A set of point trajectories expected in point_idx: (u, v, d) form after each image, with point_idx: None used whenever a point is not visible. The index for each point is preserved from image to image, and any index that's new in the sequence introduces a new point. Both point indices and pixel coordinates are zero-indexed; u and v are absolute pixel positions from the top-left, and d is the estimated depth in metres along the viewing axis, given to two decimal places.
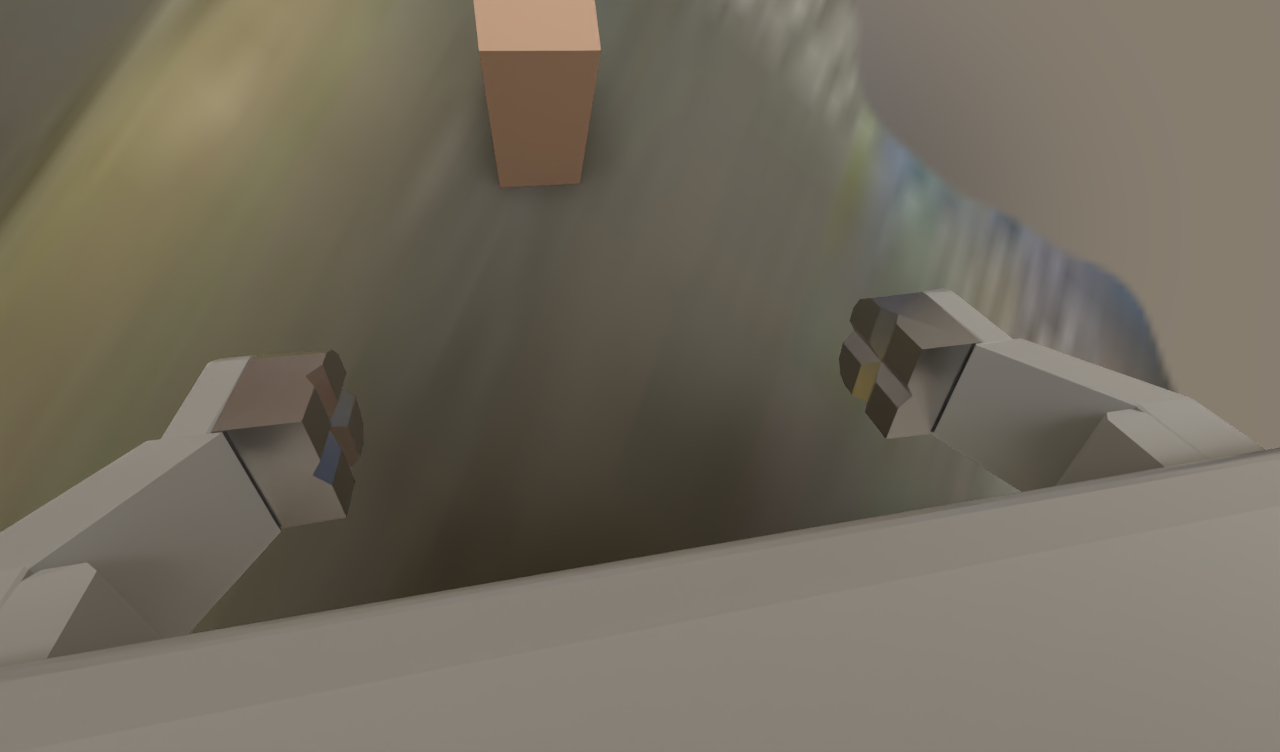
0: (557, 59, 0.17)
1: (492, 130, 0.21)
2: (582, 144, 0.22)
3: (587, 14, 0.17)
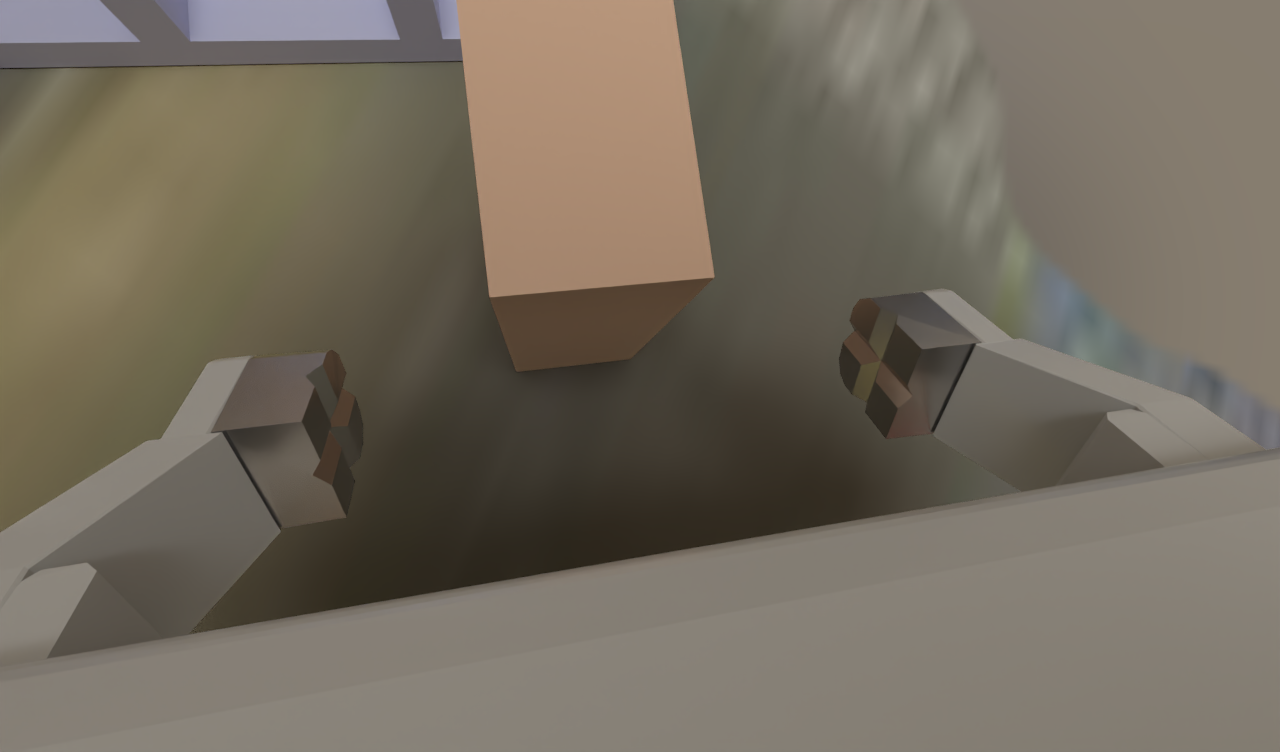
0: (633, 291, 0.09)
1: (508, 345, 0.13)
2: (645, 339, 0.15)
3: (688, 210, 0.09)
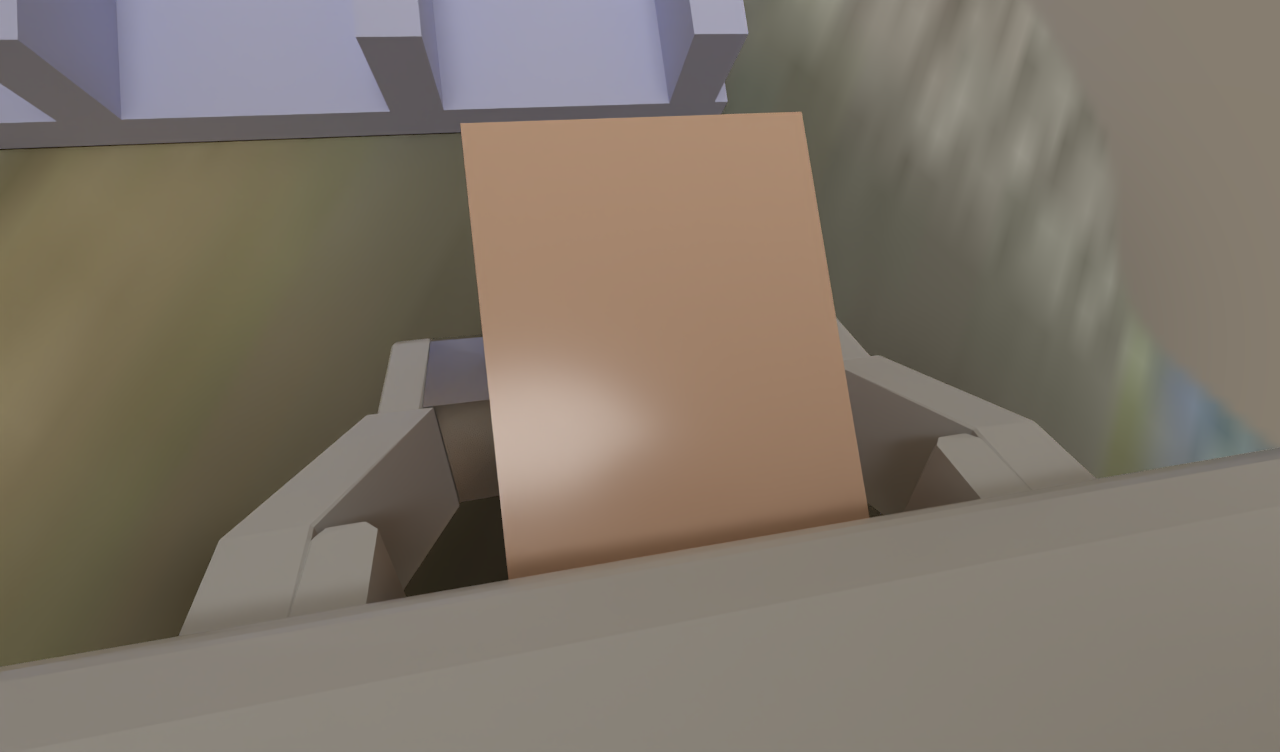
0: None
1: None
2: None
3: (837, 482, 0.06)
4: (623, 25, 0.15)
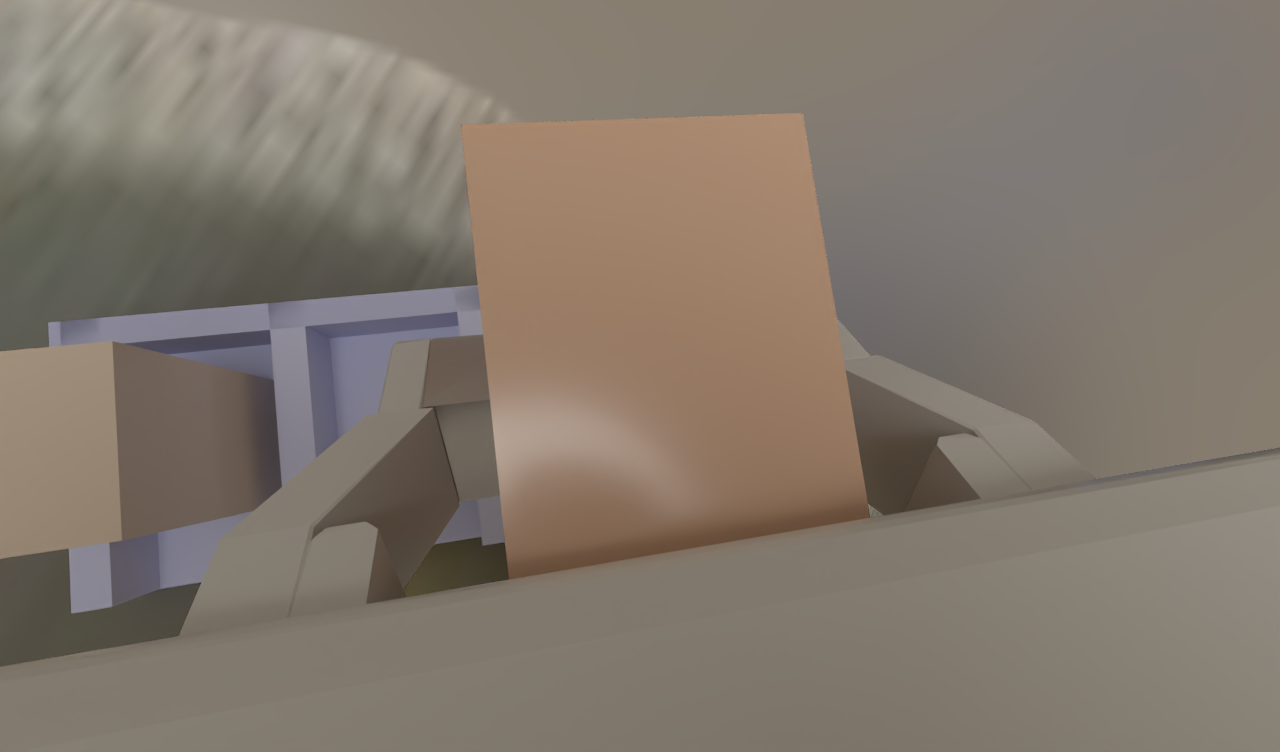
0: None
1: None
2: None
3: (838, 484, 0.06)
4: None
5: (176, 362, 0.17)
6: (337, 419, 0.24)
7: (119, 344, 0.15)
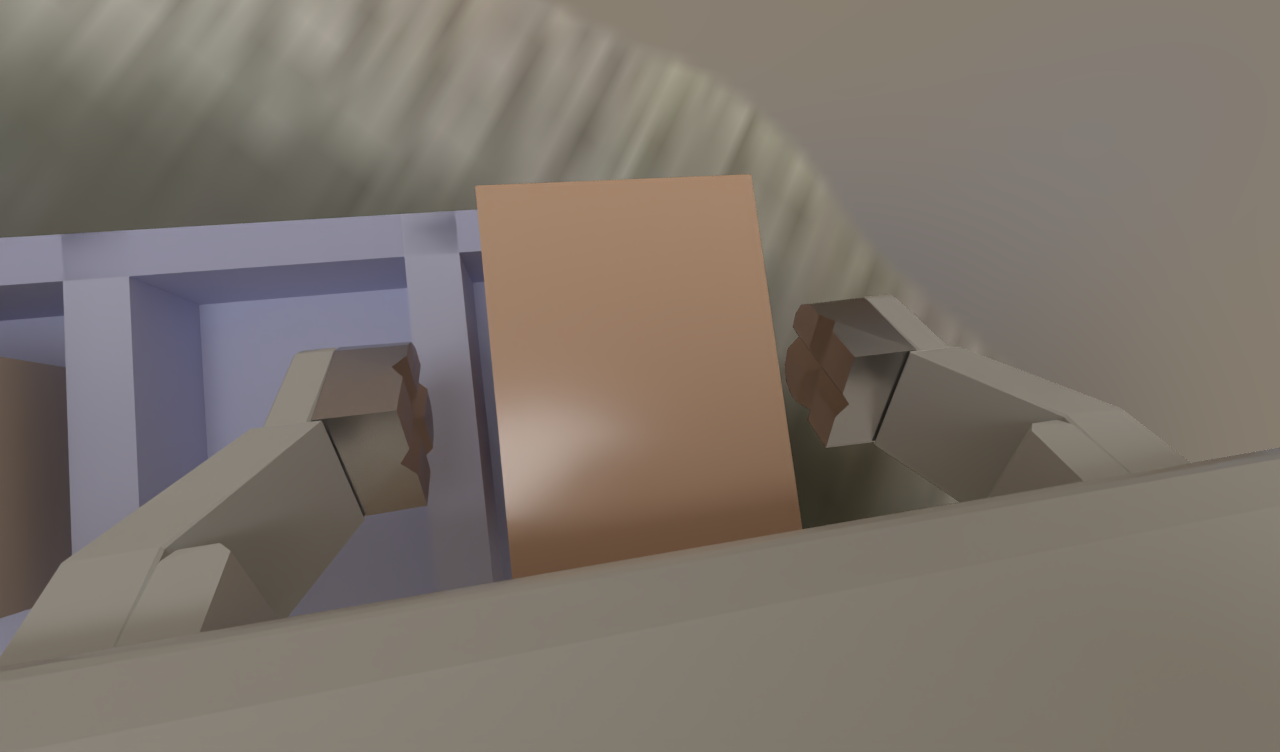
0: None
1: None
2: None
3: (773, 475, 0.07)
4: None
5: None
6: (207, 439, 0.14)
7: None
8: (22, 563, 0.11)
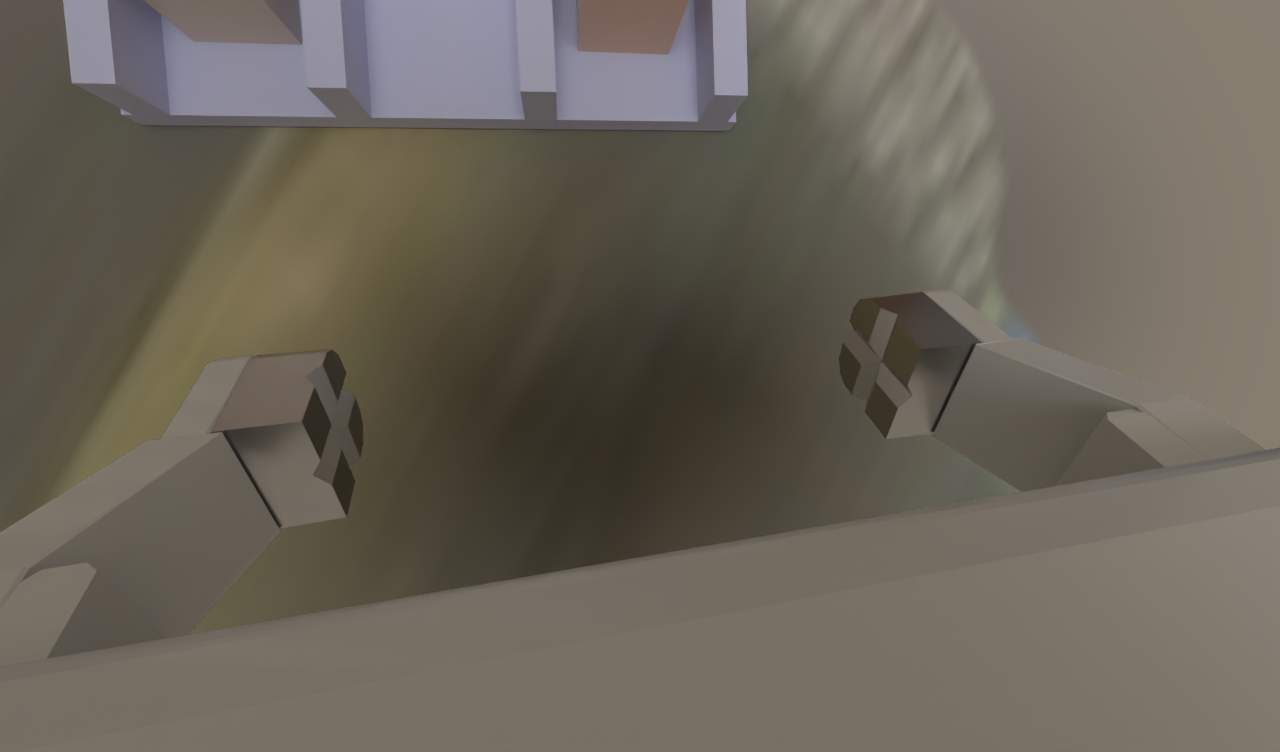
0: None
1: None
2: (683, 2, 0.19)
3: None
4: (673, 65, 0.22)
5: None
6: None
7: None
8: None
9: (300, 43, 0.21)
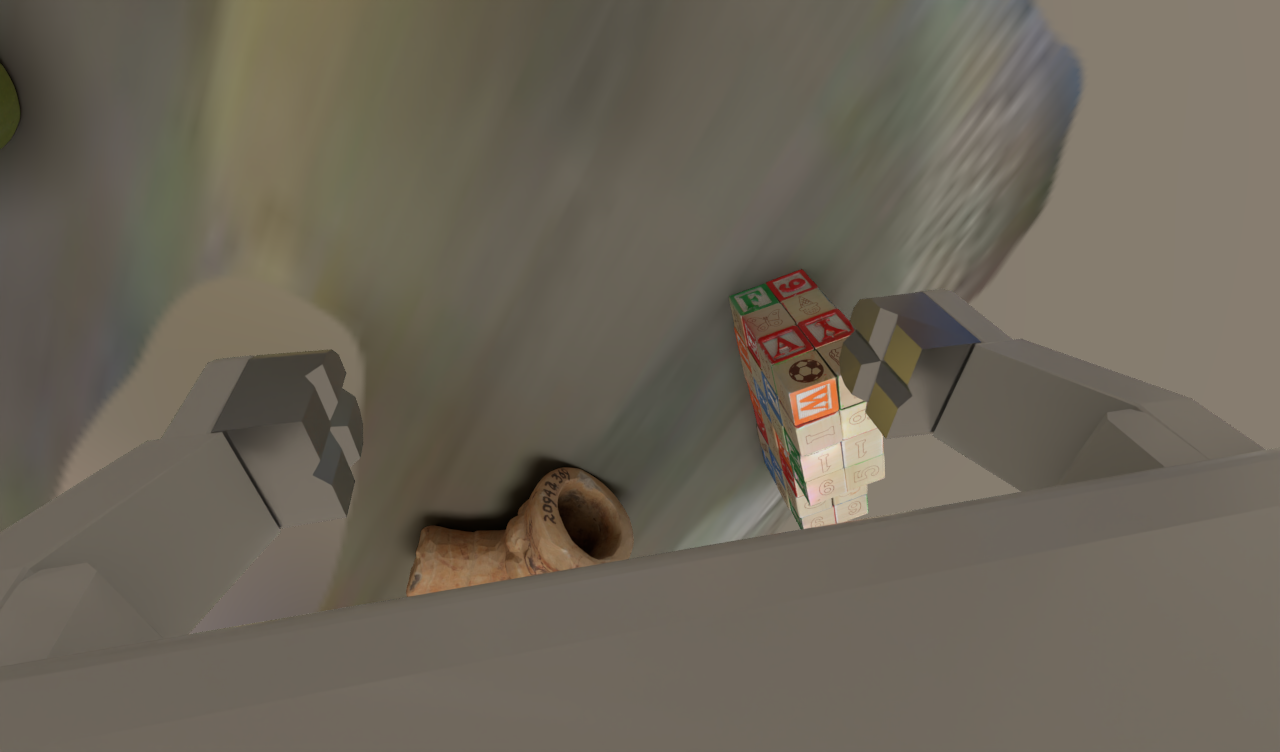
0: None
1: None
2: None
3: None
4: None
5: None
6: None
7: None
8: None
9: None
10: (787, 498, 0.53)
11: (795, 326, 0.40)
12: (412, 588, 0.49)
